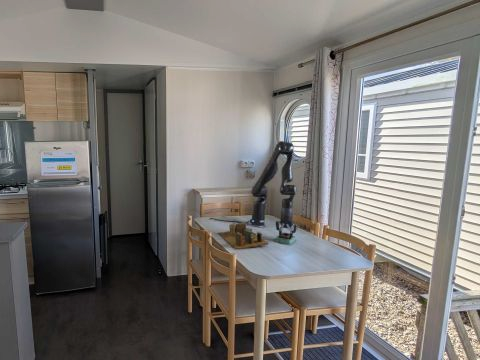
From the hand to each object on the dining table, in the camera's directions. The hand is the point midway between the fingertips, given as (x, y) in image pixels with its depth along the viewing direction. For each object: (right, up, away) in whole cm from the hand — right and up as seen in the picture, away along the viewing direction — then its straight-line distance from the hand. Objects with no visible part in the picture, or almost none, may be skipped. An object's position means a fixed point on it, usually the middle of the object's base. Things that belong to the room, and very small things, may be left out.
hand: (285, 237), depth 205 cm
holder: (0, -3, 0) cm, 3 cm away
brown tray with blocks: (-29, -3, +2) cm, 29 cm away
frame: (0, -1, 0) cm, 1 cm away
